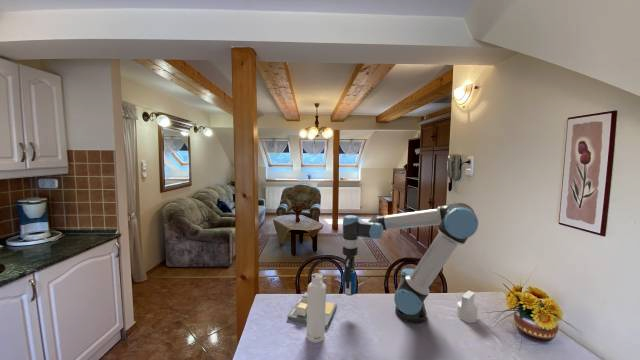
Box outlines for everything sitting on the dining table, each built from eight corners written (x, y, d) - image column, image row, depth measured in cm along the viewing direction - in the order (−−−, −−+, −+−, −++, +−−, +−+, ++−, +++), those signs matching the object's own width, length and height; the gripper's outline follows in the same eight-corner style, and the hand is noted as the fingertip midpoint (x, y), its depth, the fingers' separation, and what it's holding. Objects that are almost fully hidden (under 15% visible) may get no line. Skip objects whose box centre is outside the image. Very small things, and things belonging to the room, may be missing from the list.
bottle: (318, 345, 110) (320, 282, 107) (302, 338, 114) (304, 277, 111) (327, 333, 117) (329, 274, 114) (312, 327, 121) (314, 269, 118)
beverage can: (352, 297, 128) (352, 274, 127) (340, 294, 132) (341, 271, 131) (357, 292, 134) (358, 269, 133) (346, 288, 137) (346, 266, 136)
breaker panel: (336, 307, 137) (336, 303, 137) (326, 329, 120) (327, 324, 120) (301, 300, 143) (301, 296, 143) (287, 319, 126) (287, 315, 126)
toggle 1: (307, 311, 129) (308, 304, 129) (304, 316, 125) (305, 308, 125) (300, 310, 130) (300, 302, 130) (297, 314, 126) (297, 306, 126)
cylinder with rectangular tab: (472, 325, 126) (475, 301, 125) (453, 316, 133) (455, 293, 132) (479, 317, 132) (481, 295, 131) (460, 309, 139) (462, 288, 138)
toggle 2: (312, 300, 139) (312, 293, 138) (309, 304, 135) (309, 297, 135) (305, 299, 140) (305, 292, 140) (302, 303, 136) (302, 295, 136)
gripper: (346, 239, 141) (346, 280, 143) (338, 252, 123) (337, 298, 125) (360, 241, 139) (359, 282, 141) (353, 254, 120) (353, 301, 122)
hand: (349, 290), depth 133 cm, fingers closed on beverage can, 6 cm apart
